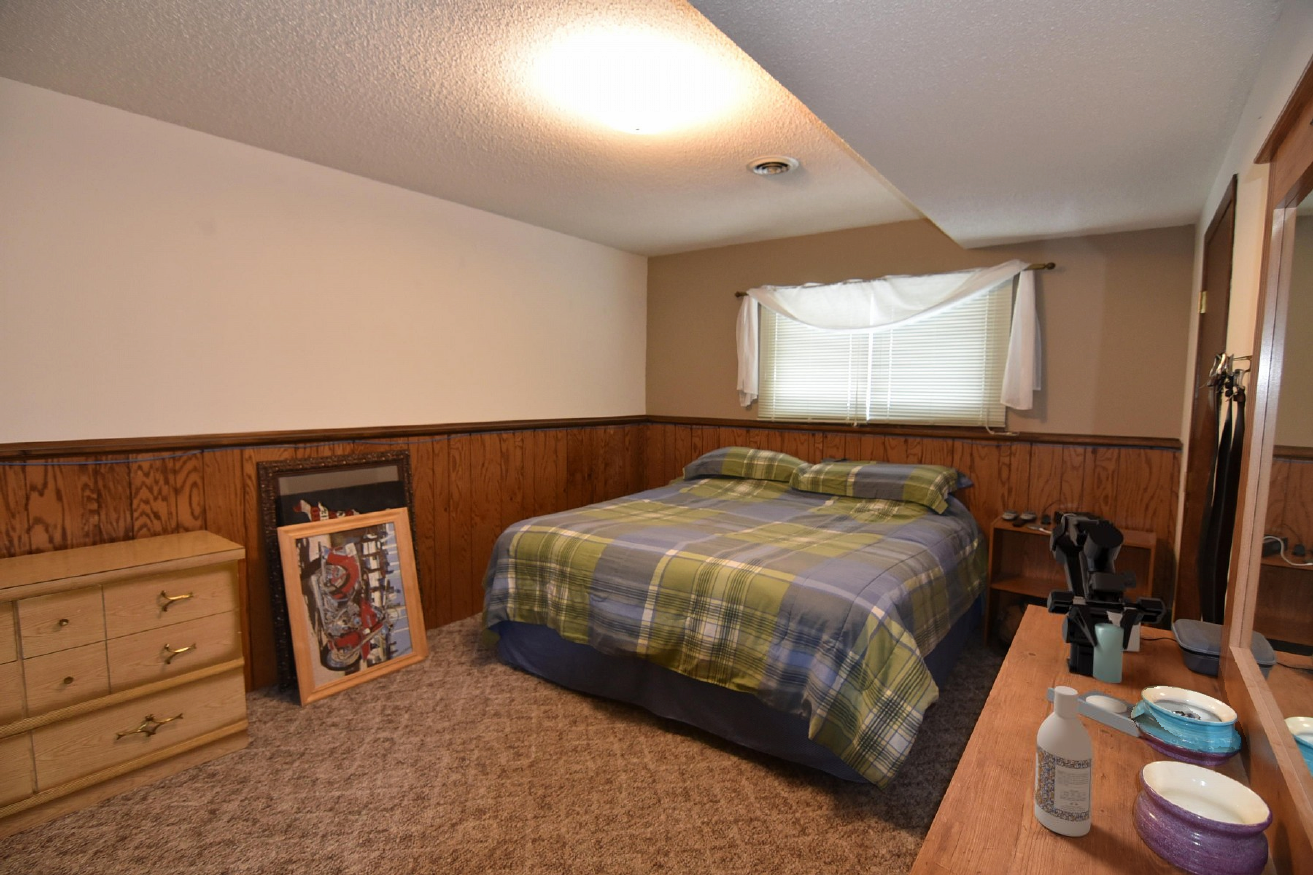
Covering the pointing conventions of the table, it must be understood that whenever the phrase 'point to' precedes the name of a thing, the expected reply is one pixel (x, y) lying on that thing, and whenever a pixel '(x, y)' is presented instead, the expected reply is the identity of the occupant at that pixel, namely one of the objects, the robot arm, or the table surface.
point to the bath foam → (1064, 768)
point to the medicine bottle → (1135, 633)
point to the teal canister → (1108, 653)
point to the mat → (1108, 703)
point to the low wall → (1102, 715)
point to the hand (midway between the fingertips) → (1110, 647)
